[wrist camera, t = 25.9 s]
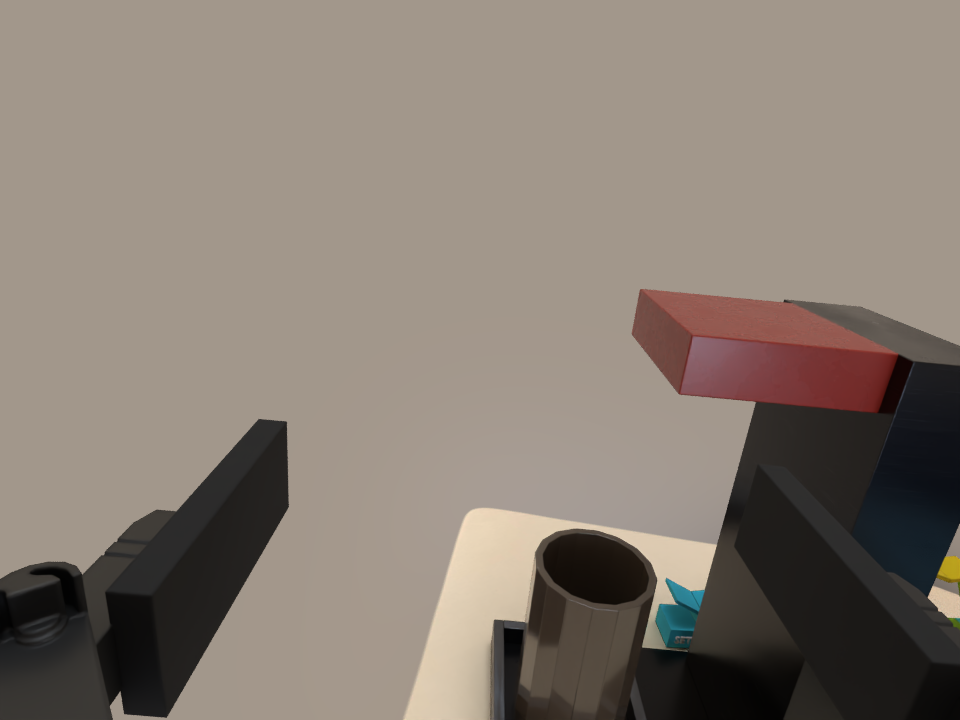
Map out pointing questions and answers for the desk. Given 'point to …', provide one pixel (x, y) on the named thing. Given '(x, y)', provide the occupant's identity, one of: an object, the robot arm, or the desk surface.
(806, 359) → the coffee maker
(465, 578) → the desk surface
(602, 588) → the cup
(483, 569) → the desk surface
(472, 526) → the desk surface
